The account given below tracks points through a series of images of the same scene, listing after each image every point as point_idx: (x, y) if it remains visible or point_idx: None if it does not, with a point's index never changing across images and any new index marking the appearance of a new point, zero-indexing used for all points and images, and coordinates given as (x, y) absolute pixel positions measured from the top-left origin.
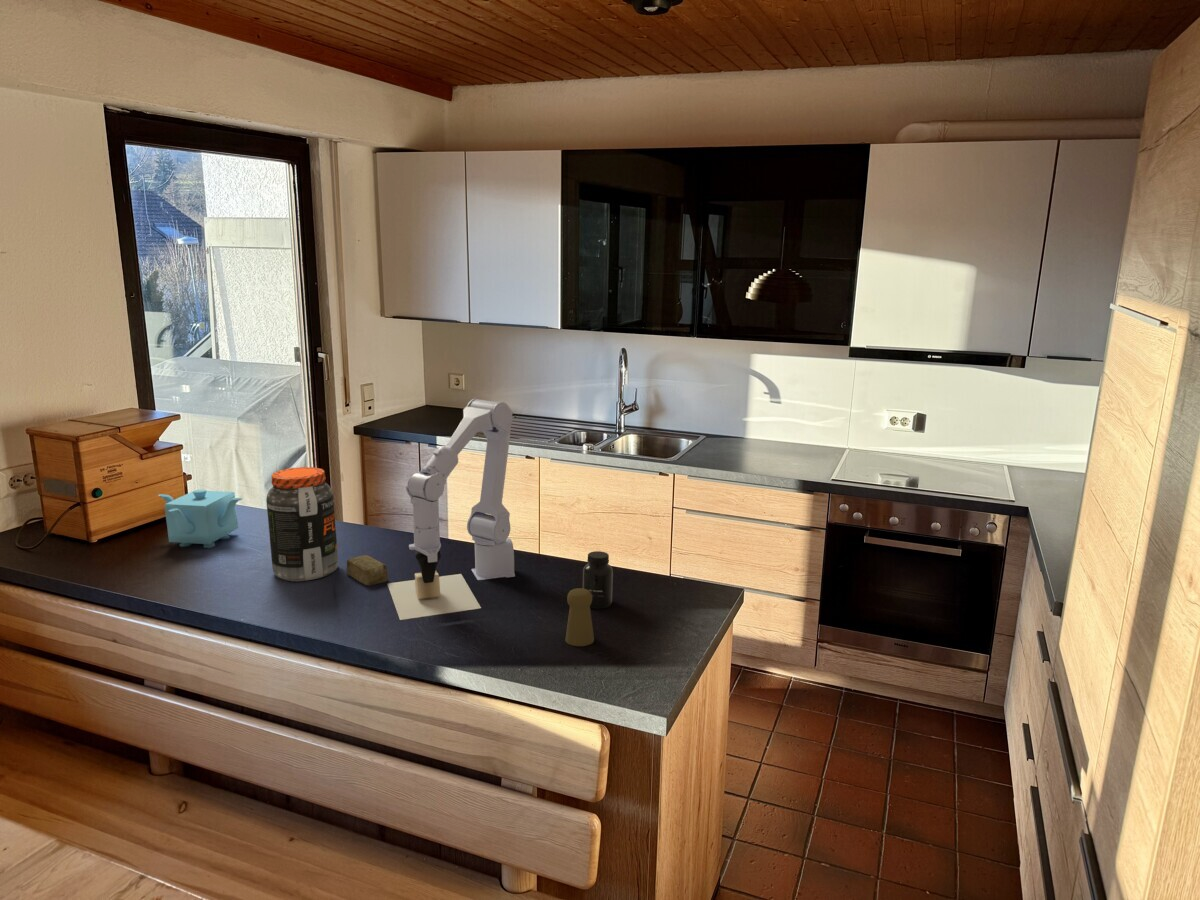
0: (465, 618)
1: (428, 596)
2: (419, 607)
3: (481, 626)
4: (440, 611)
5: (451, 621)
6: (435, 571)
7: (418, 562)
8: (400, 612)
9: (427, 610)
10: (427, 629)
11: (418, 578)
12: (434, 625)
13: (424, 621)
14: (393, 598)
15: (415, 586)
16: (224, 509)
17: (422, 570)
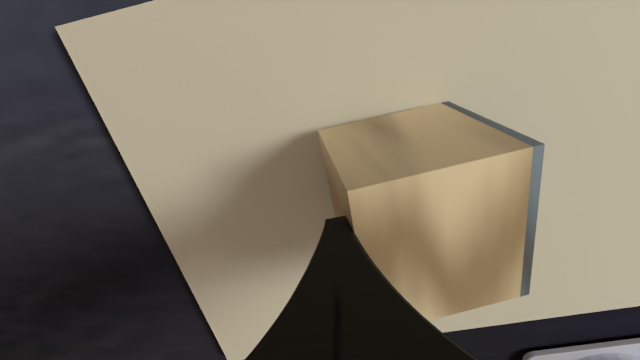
0: (156, 307)
1: (330, 188)
2: (241, 132)
3: (92, 349)
4: (191, 231)
5: (121, 264)
6: (502, 295)
7: (415, 315)
8: (167, 20)
9: (202, 174)
10: (17, 175)
11: (345, 198)
12: (67, 203)
13: (104, 158)
14: None
15: (472, 113)
16: None
17: (293, 301)
